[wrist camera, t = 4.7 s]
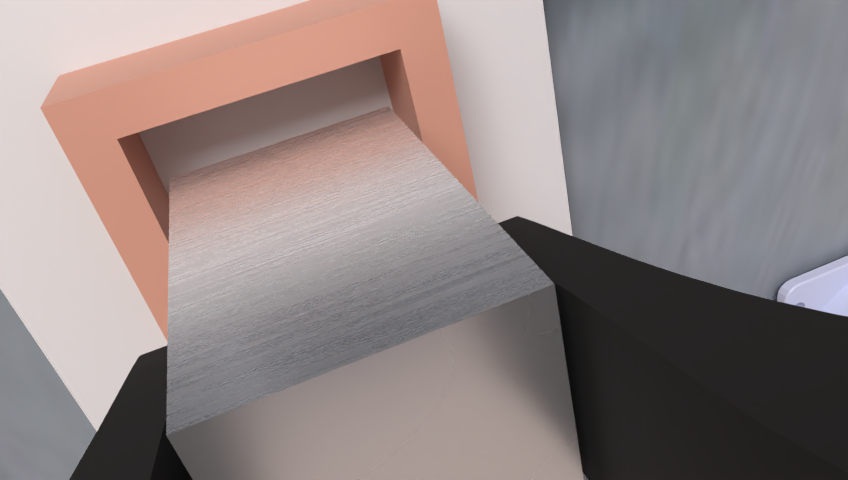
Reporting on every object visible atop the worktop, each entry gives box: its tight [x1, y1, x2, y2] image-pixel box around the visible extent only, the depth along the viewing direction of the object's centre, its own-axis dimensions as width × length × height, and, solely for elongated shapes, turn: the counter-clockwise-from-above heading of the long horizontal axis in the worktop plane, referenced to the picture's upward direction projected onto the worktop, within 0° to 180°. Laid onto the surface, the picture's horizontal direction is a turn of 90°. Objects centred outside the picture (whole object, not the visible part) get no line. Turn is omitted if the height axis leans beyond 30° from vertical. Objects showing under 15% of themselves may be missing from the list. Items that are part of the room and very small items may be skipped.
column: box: [166, 106, 584, 480], centre depth 9 cm, size 4×4×6 cm
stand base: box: [0, 0, 572, 431], centre depth 13 cm, size 12×12×4 cm
